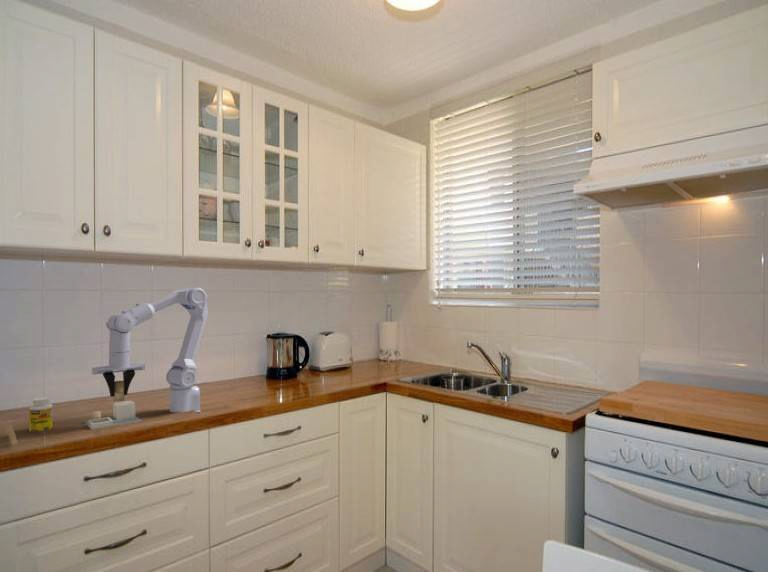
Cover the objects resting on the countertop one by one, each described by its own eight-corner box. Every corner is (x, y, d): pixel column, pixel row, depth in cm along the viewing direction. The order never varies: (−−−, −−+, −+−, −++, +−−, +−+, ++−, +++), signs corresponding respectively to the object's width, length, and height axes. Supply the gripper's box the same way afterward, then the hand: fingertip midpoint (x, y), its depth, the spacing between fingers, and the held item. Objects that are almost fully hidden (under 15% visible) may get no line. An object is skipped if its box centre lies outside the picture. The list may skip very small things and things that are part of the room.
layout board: (131, 416, 155) (132, 404, 155) (142, 424, 145) (142, 411, 145) (83, 424, 146) (83, 411, 146) (91, 433, 136) (91, 419, 136)
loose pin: (122, 399, 146) (123, 380, 146) (125, 400, 144) (125, 381, 144) (112, 400, 144) (112, 381, 144) (114, 402, 142) (114, 382, 142)
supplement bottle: (26, 436, 133) (26, 401, 133) (32, 431, 138) (32, 397, 138) (49, 434, 135) (50, 399, 136) (54, 429, 140) (55, 396, 141)
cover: (131, 413, 155) (131, 400, 155) (135, 416, 151) (135, 403, 151) (112, 416, 151) (113, 403, 151) (116, 419, 147) (116, 405, 147)
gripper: (141, 349, 152) (140, 390, 152) (90, 352, 142) (89, 396, 142) (147, 351, 147) (146, 393, 146) (94, 354, 137) (93, 400, 137)
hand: (118, 395), depth 144 cm, fingers closed on loose pin, 3 cm apart
